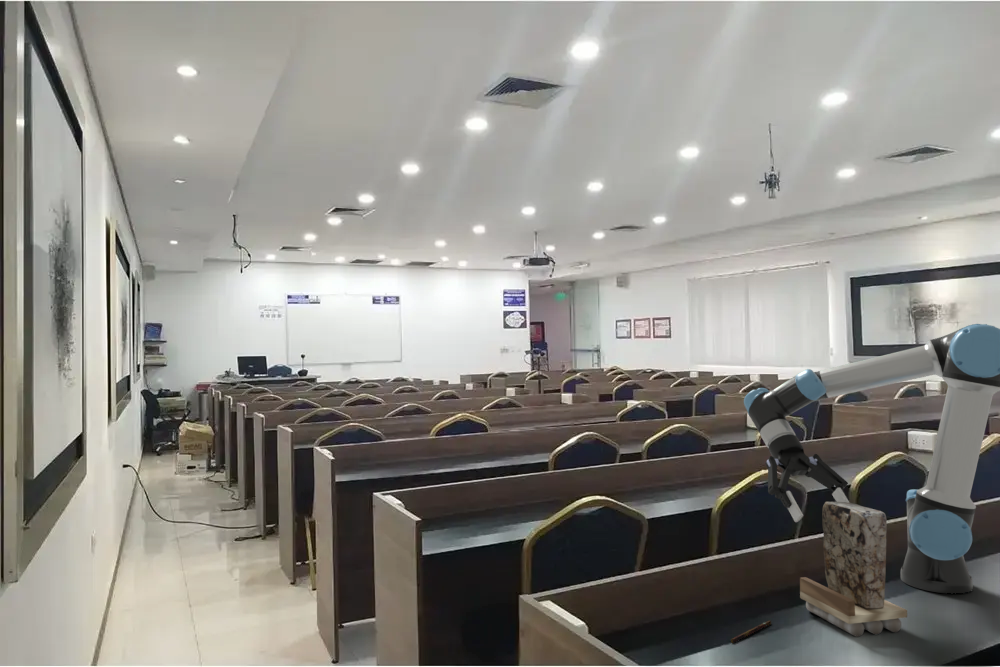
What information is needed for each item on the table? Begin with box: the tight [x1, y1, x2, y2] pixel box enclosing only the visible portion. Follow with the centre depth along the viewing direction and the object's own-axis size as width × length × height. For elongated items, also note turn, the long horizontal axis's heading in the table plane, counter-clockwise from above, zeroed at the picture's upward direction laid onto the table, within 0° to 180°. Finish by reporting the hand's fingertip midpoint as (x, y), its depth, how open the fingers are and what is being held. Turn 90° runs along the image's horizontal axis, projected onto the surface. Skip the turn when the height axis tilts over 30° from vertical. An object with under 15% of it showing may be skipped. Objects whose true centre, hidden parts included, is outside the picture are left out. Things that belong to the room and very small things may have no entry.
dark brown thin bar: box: [730, 620, 772, 644], centre depth 140 cm, size 15×1×1 cm, turn 130°
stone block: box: [821, 501, 888, 609], centre depth 146 cm, size 13×7×20 cm, turn 19°
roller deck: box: [799, 576, 908, 638], centre depth 145 cm, size 14×15×8 cm
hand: (825, 517), depth 154 cm, fingers open, 13 cm apart
